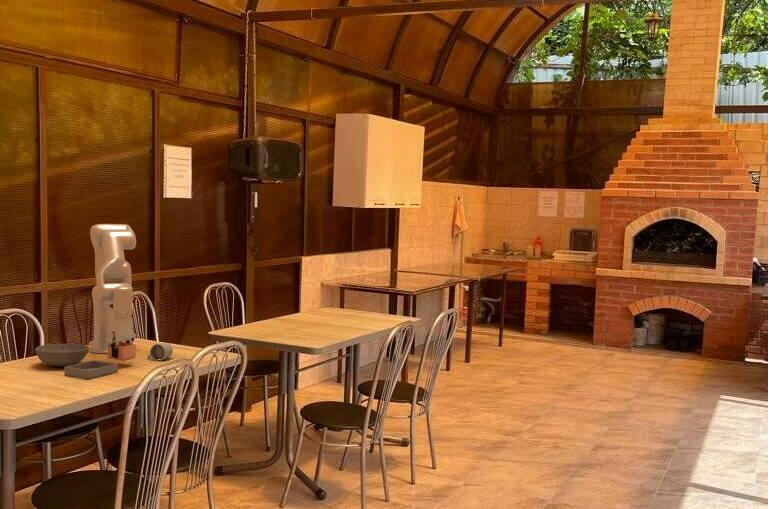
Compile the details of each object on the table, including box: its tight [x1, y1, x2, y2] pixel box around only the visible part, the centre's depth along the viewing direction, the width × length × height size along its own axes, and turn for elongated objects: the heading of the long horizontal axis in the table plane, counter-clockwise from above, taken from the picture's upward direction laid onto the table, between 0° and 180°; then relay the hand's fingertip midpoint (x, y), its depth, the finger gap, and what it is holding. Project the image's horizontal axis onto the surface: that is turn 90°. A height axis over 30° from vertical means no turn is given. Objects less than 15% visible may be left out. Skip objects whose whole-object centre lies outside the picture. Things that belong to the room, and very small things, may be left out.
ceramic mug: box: [146, 342, 174, 362], centre depth 338 cm, size 11×8×8 cm
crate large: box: [63, 359, 119, 380], centre depth 305 cm, size 13×15×4 cm
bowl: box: [34, 343, 90, 367], centre depth 319 cm, size 21×21×8 cm
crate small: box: [107, 341, 137, 362], centre depth 321 cm, size 9×7×6 cm
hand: (121, 355), depth 322 cm, fingers closed on crate small, 7 cm apart
